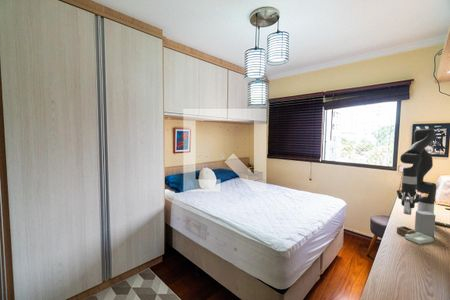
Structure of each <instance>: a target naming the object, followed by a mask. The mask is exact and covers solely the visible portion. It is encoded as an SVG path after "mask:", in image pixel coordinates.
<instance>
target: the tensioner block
mask: <svg viewBox="0 0 450 300" xmlns="http://www.w3.org/2000/svg"><path fill="white" fill-rule="evenodd" d="M396 233H397V234H399V235H402V236H404V237H405V235H406V234H412V233H416V230H415V229H413V228H410V227H407V226H397V227H396Z"/></svg>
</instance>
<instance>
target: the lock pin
mask: <svg viewBox="0 0 450 300" xmlns="http://www.w3.org/2000/svg"><path fill="white" fill-rule="evenodd" d="M410 203H411V201H410V199H409V198H406V199H404V206H403V214H404V215H409V216H411V215H412V209H413V208H410Z"/></svg>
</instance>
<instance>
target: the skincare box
mask: <svg viewBox="0 0 450 300" xmlns="http://www.w3.org/2000/svg"><path fill="white" fill-rule="evenodd" d="M436 216H437V215H436V214H435V213H434V214H432V213H431V212H424V211H417V210H416V211H415V219H414V221H415V222H414V230H416V232H415V233H418V232H419V233H422V234H424V235H427V236H430V237H432V238H435V225H436Z"/></svg>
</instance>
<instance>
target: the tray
mask: <svg viewBox="0 0 450 300" xmlns="http://www.w3.org/2000/svg"><path fill="white" fill-rule="evenodd" d="M404 239H406V240H408V241H410V242H413V243H416V244H417V243H418V245H422V244H428V243H434V237H430V236H427V235H424V234H422V233H419V232H418V233H416V232H415V233H412V234H406V235H405V236H404Z"/></svg>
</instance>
